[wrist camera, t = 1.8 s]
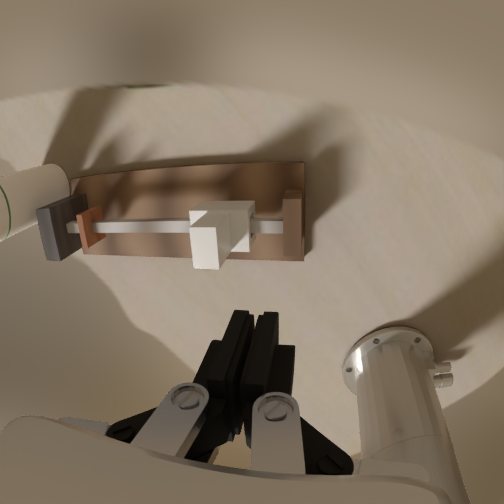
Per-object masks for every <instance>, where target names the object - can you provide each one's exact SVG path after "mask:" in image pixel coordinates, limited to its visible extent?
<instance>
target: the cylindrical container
mask: <svg viewBox="0 0 504 504" xmlns="http://www.w3.org/2000/svg"><path fill="white" fill-rule="evenodd" d="M68 196H70V186H69V182H68V179H67V176H66V174H65V172H64V171H63V170H62V168H61V167H59V166H58V165H56V164H46V165H42V166H38V167H34V168H31V169H27V170H23V171H20V172H16V173H13V174H10V175H6V176H3V177H0V241H2V240H4V239H6V238H8V237H10V236H12V235H14V234H16V233H18V232H20V231H22V230H24V229H26V228H28V227H30V226H33V225H35V224H37V223H38V221H37V216H36V209H38V208H41V207H43V206H46V205H48V204H50V203H53V202H56V201H58V200H61V199H63V198H66V197H68Z"/></svg>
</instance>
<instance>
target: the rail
mask: <svg viewBox="0 0 504 504" xmlns="http://www.w3.org/2000/svg"><path fill="white" fill-rule="evenodd" d="M70 183H71V190H72V195H71V196H68V197H66V198H63V199H61V200H58V201H56V202H53V203H50V204H48V205H46V206H43V207H41V208H38V209H36V216H37V221H38V225H39V230H40V235H41V239H42V243H43V247H44V251H45V255H46V259H47V260H52V261H61V260H63V259H65V258H66V257H68V256H69V255H71V254H72V253H74V252H76V251H77V250H79V249H80V248H82V249H83V254H93V255H120V256H148V257H178V258H192V250H191V241H190V232H189V227H190V226H191V225H190V216H189V211H190V210H191V209H192V208H194V207H195V206H197V205H198V204H199V203H201V202H202V201H255V217H250V233H256V240H255V242H254V244H253V246H252V248H251V250H250V252H230V253H229V255H228V256H227V258H226V259H243V260H279V261H304V242H305V162H246V163H221V164H202V165H187V166H174V167H162V168H151V169H141V170H132V171H123V172H114V173H107V174H99V175H92V176H85V177H78V178H74V179H70Z"/></svg>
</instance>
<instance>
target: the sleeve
mask: <svg viewBox="0 0 504 504" xmlns="http://www.w3.org/2000/svg"><path fill="white" fill-rule="evenodd" d="M189 216H190V225H191V226H190V227H189V232H190V241H191V250H192V258H193V266H194V268H197V269H220V268H221V266H222V264H223V263H224V261H225V260H226V258H227V256H228V255H229V253H230V252H250V250H251V248H252V246H253V244H254V242H255V240H256V233H250V217H255V201H202V202H201V203H199V204H198V205H197V206H195V207H194V208H192V209H191V210H190V211H189Z"/></svg>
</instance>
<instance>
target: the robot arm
mask: <svg viewBox="0 0 504 504" xmlns="http://www.w3.org/2000/svg"><path fill="white" fill-rule="evenodd" d="M278 344H279V314H278V312H264V314H263V315H259V316H258V319H257V323H256V326H254V315H252V314H249V311H245V310H234V312H233V315H232V317H231V319H230V322H229V324H228V327H227V329H226V332H225V334H224V336H223V339H222V341H221V340H212V342H211V343H210V345H209V348H208V350H207V352H206V354H205V356H204V359H203V361H202V363H201V365H200V367H199V370H198V372H197V374H196V376H195V378H194V381H193V383H183V384H179V385H177V386H175V387H174V388H172V389H171V390H170V391H169V392H168V394H167V395H166V397H165V398H164V399H163V401H162V402H161V403H160V405H159V406H158V407H156V408H153V409H151V410H148V411H146V412H143V413H141V414H138V415H135V416H132V417H130V418H127V419H124V420H121V421H118V422H116V423H114V424H113V425H109V423H108V422H101V421H93V420H85V419H78V418H71V417H63V418H59V419H55V418H50V417H46V416H35V415H25V416H20V417H17V418H15V419H14V420H12V421H11V422H9V423H8V424H7V425H6V426H5V427H4V428H3V429H2V430H1V431H0V504H471V503H470V500H469V497H468V494H467V491H466V488H465V485H464V482H463V479H462V475H461V472H460V468H459V465H458V461H457V458H456V454H455V451H454V447H453V443H452V441H451V437H450V434H449V431H448V427H447V424H446V420H445V417H444V414H443V411H442V408H441V405H440V402H439V399H438V396H437V393H436V390H435V387H439V388H442V387H450V386H452V384H453V375H452V373H446V374H439V375H435V373H438V372H440V373H443V372H450V370H451V363H450V362H443V363H437V364H436V362H433V358H434V355H433V349H432V345H431V343H430V341H429V339H428V338H427V337H426V336H425V335H424V334H423V333H421V332H420V331H418V330H416V329H413V328H410V327H403V326H400V327H389V328H384V329H381V330H378V331H375V332H373V333H371V334H369V335H367V336H366V337H364V338H363V339H361V340H360V341H358V342H357V343H356V344H355V345H354V346H353V347H352V348H351V350H350V351H349V352H348V354H347V356H346V358H345V360H344V363H343V380H344V382H345V385H346V386H347V388H348V389H349V390H350V391H351V392H352V393H354V394H355V395H357V403H358V414H359V426H360V439H361V455H362V460H357V459H351V458H350V456H349V455H348V454H347V453H345V452H344V451H343V450H342V449H340V448H339V447H338V446H336V445H335V444H334V443H333V442H331V441H330V440H329V439H327V438H326V437H325V436H324V435H322V434H321V433H320V432H319V431H317V430H316V429H315V428H314V427H313V426H311V425H310V424H309V423H308V422H306V421H305V420H304V419H303V418H302V417H300V413H299V406H298V403H297V401H296V400H295V399H294V398H293V397H292V396H291V394H292V385H293V375H294V361H295V345H278ZM243 422H244V431H245V436H246V444H247V446H248V447H249V448H250V449H251V467H250V470H247V469H239V468H231V467H225V466H220V465H213V463H214V461H215V459H216V457H217V455H218V453H219V450H220V445H222V444H224V443H226V442H227V441H232V442H233V440H234V436H235V434H237V435H239V434H240V432H241V429H242V425H243Z"/></svg>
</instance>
